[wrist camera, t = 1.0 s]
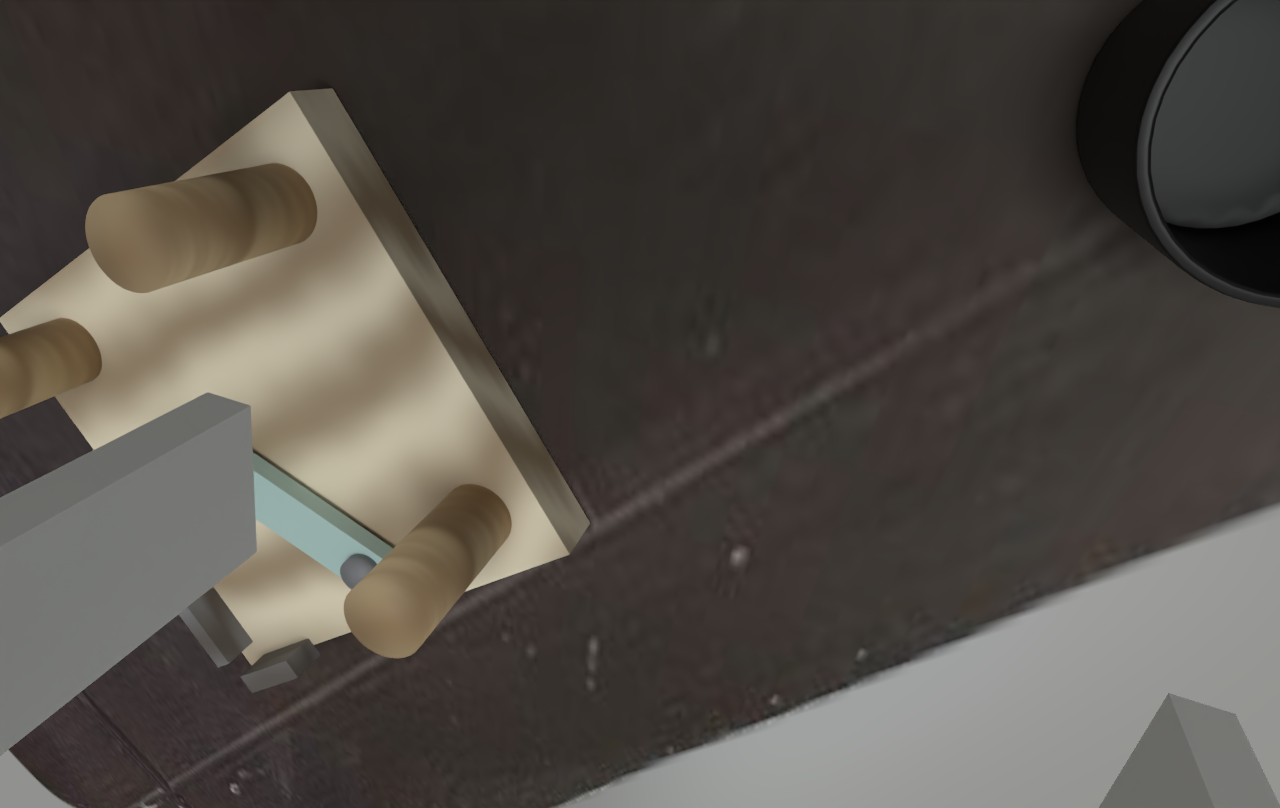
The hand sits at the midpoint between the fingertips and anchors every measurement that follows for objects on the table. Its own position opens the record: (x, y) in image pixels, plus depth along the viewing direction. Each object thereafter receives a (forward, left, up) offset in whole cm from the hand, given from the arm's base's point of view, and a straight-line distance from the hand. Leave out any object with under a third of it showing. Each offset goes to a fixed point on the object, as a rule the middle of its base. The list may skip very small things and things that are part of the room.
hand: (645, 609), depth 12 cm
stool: (-4, -29, -26) cm, 38 cm away
